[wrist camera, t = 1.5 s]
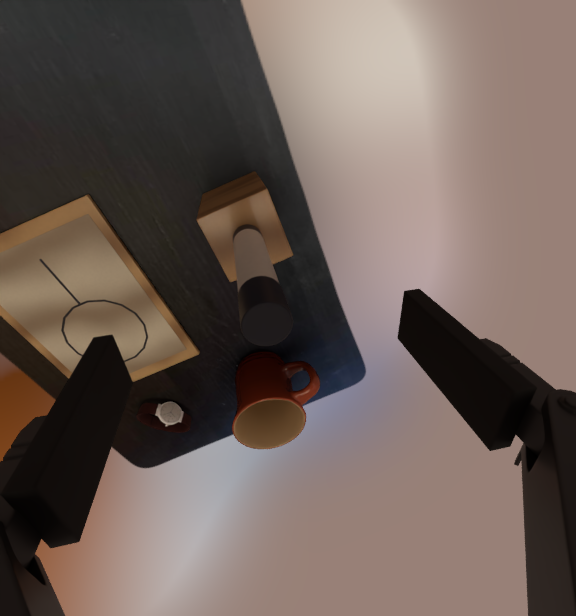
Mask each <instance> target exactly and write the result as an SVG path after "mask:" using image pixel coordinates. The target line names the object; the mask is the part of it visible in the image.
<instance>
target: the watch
mask: <svg viewBox="0 0 576 616" xmlns="http://www.w3.org/2000/svg"><path fill="white" fill-rule="evenodd" d="M147 413H149V414H154V415H156V416H158V417H159V418H158V417H155V416H152V415H149V414H147ZM137 419H138V420H139V421H140V422H141V423H143V424H145V425H147V426H150V427H152V428H155V429H158V430H164V431H169V432H186V431H188V430H189V429H190V425H191V417H190V416H189V415H188V414H186V413H184V411H182V410H181V408H180V407H179V406H178V405H177V404H176V403H174V402H166V403H164V404H162V405H161V404H154V403H144V404H142V405H141V407H140V409H139V411H138V414H137Z"/></svg>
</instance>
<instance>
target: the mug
mask: <svg viewBox="0 0 576 616" xmlns="http://www.w3.org/2000/svg"><path fill="white" fill-rule="evenodd" d="M302 370H304V371H307V372H308V374H309V376H310V382H309V384H308V385H307V386H306V387H305V388H304V389H302V390H299V391H293V389H292V384H291V377H292V376H293V375H294V374H295V373H297V372H298V371H302ZM235 385H236V395H237V411H236V415H235V418H234V420H233V425H232V430H233V434H234V436H235V438H236V439H237V440H238V441H239V442H240V443H241V444H243V445H245V446H247V447H250V448H254V449H271V448H275V447H279V446H282V445H284V444H286V443H288V442H290V441H292V440H293V439H294V438H296V437H297V436H298V435H299V433H301V431H302V430H303V428H304V426H305V422H306V413H305V411H304V409H303V407H302V405H303V404H304V403H306V402H307V401H308V400H309V399H310V398H311V397H313V396H314V395H315V394H316V393H317V391H318V390H319V387H320V379H319V376H318V374H317V372H316V371H315V370H314V368H313V367H312V366H311V365H310V364H308V363H306V362H304V361H295V362H290V363H286V364H285V363H284V362H283V360H282V359H281V358H280V357H279V356H278V355H276V354H275V353H272V352H265V351H262V352H255V353H252V354H250V355H248V356H246V357H245V358H244V359H243V360H242V361H241V362H240V363H239V365H238V368H237V372H236V377H235Z"/></svg>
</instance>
